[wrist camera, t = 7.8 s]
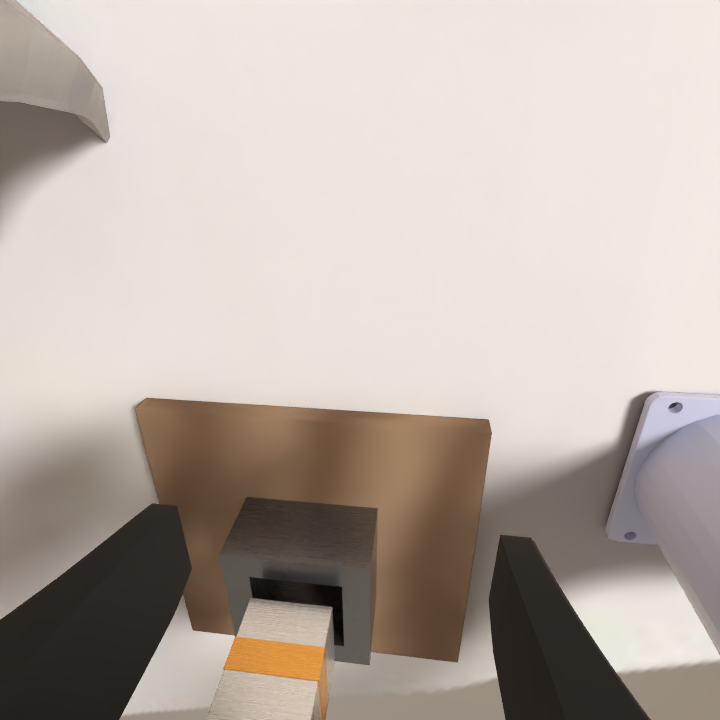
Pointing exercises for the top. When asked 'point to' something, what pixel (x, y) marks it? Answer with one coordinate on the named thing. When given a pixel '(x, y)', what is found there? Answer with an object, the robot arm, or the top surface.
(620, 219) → the top surface
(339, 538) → the sleeve
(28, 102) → the hammer
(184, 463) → the base plate
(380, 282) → the top surface
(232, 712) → the post
